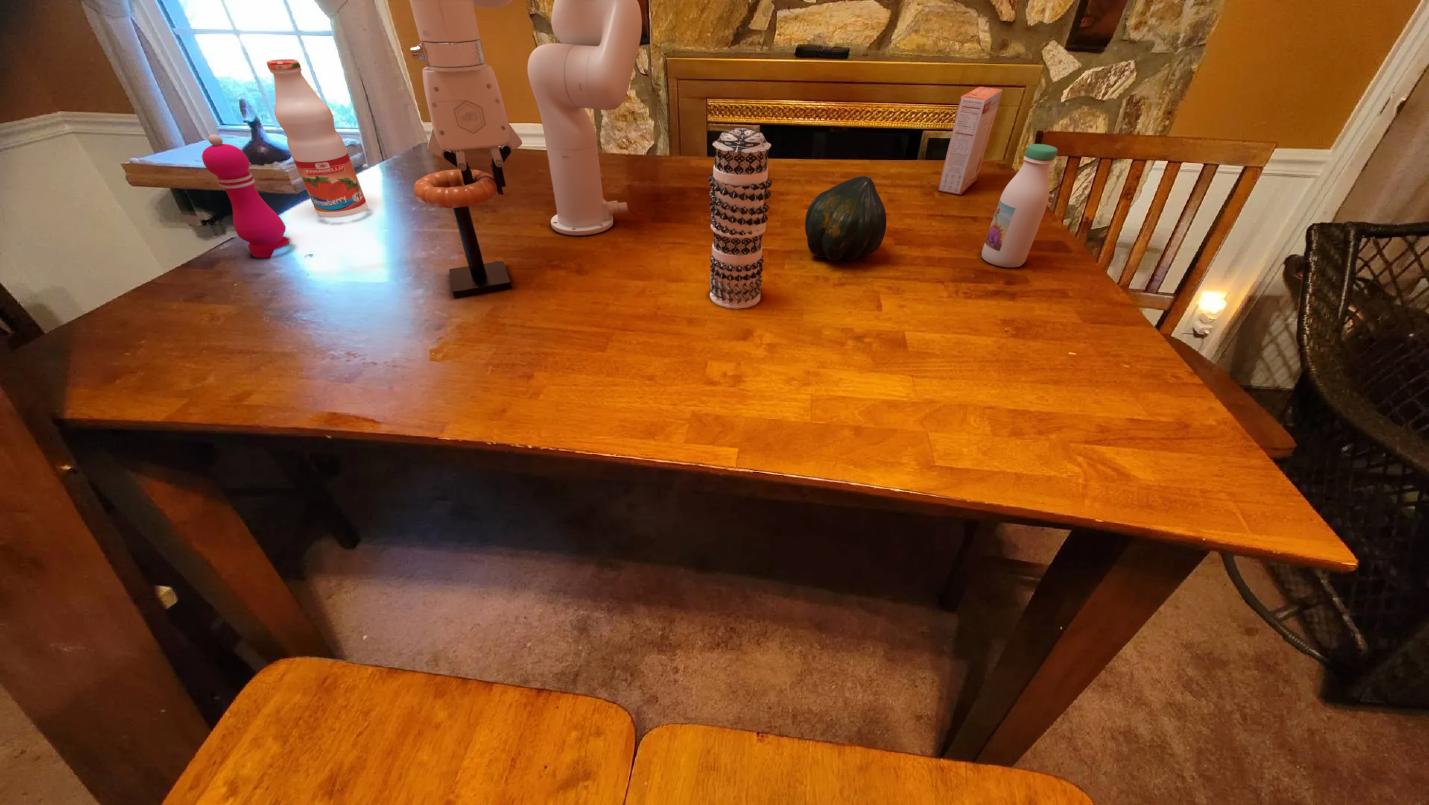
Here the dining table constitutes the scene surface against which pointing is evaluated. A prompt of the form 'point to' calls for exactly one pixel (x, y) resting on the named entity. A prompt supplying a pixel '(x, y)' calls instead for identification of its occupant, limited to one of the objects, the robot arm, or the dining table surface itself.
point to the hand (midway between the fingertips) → (487, 192)
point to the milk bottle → (1020, 209)
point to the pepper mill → (244, 199)
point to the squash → (846, 220)
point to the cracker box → (969, 139)
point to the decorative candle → (738, 217)
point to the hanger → (475, 263)
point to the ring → (454, 189)
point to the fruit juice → (315, 143)
